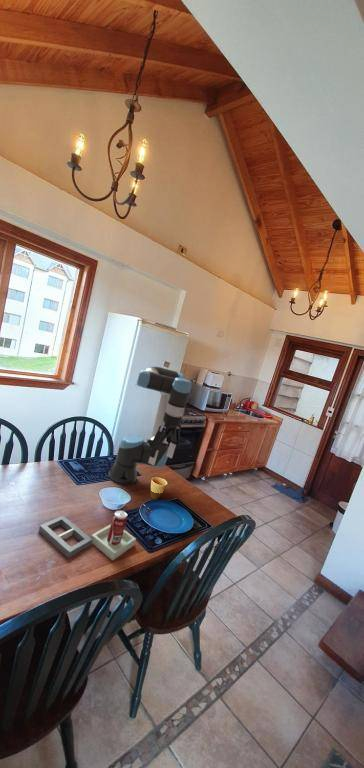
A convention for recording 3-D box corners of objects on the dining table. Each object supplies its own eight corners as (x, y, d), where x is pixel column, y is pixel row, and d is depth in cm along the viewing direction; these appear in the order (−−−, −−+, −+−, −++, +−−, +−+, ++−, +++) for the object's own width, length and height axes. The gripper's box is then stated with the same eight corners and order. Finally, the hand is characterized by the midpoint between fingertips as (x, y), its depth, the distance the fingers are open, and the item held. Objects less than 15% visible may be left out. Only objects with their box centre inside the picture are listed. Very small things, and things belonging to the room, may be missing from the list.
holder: (38, 531, 113) (39, 525, 113) (61, 520, 122) (62, 515, 121) (68, 558, 105) (69, 552, 105) (90, 545, 114) (92, 539, 113)
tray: (89, 541, 115) (91, 534, 115) (112, 528, 126) (114, 522, 125) (112, 560, 110) (114, 553, 109) (134, 545, 120) (136, 538, 119)
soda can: (108, 535, 120) (115, 508, 118) (121, 538, 121) (128, 511, 119) (105, 544, 115) (113, 516, 113) (119, 547, 116) (126, 519, 114)
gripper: (164, 420, 117) (150, 471, 120) (195, 415, 138) (182, 458, 142) (149, 413, 120) (135, 462, 124) (181, 409, 142) (169, 451, 145)
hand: (160, 460), depth 133 cm, fingers open, 13 cm apart
